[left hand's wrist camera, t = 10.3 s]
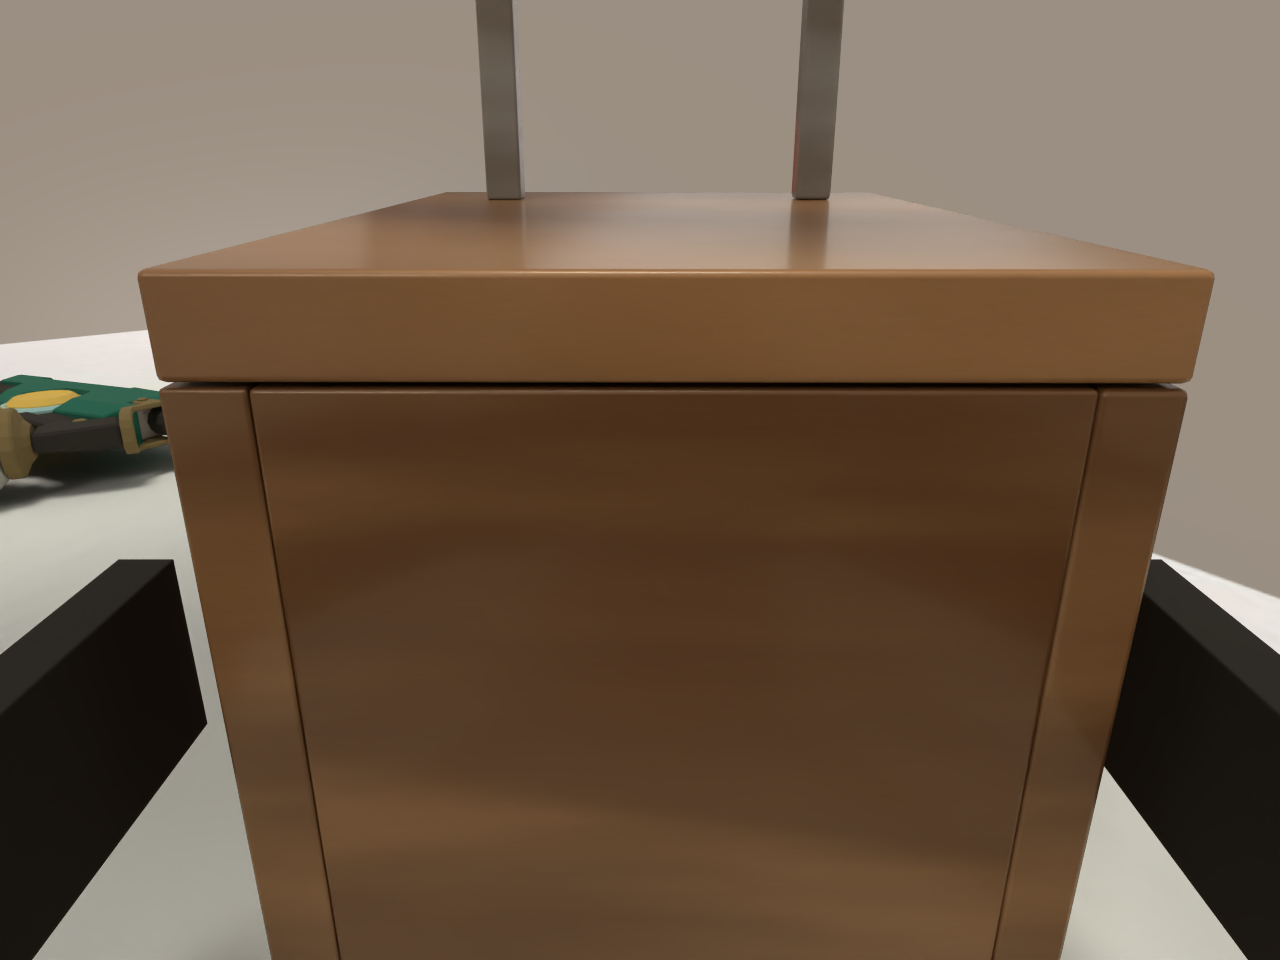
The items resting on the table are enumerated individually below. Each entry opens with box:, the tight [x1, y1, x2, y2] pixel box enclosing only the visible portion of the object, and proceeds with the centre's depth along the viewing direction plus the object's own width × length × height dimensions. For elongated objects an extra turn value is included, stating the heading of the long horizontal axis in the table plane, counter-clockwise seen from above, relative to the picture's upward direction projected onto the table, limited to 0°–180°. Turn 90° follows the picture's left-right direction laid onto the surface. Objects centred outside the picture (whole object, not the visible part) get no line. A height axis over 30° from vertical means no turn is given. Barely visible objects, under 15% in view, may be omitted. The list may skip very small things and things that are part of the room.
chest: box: [159, 382, 1187, 960], centre depth 17 cm, size 13×10×11 cm
